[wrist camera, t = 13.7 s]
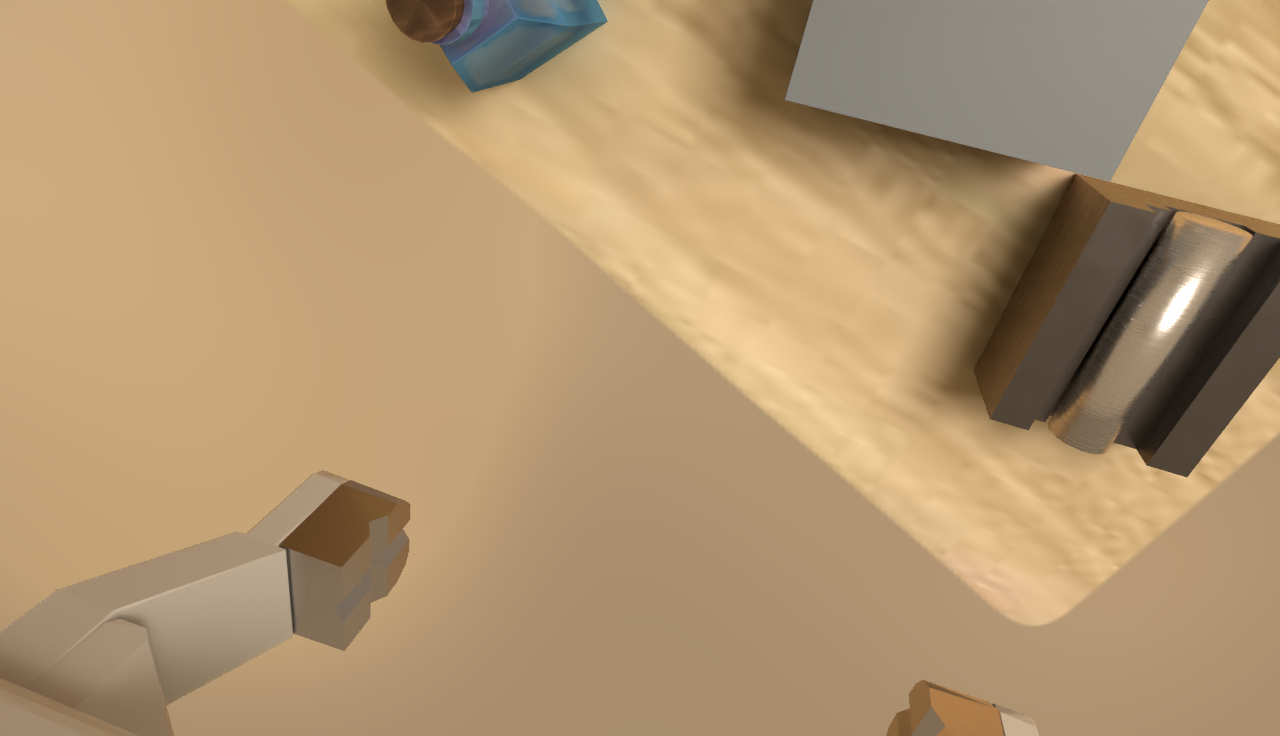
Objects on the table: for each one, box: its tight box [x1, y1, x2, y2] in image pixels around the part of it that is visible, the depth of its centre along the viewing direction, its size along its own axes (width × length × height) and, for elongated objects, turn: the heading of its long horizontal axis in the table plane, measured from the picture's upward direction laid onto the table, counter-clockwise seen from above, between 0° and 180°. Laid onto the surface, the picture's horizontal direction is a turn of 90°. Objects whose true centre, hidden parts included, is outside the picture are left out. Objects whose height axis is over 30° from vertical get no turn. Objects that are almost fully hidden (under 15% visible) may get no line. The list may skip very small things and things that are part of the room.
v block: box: [974, 174, 1280, 477], centre depth 36 cm, size 12×10×6 cm
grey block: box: [785, 0, 1209, 181], centre depth 31 cm, size 8×14×7 cm, turn 78°
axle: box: [1048, 211, 1253, 454], centre depth 34 cm, size 12×3×3 cm, turn 169°
